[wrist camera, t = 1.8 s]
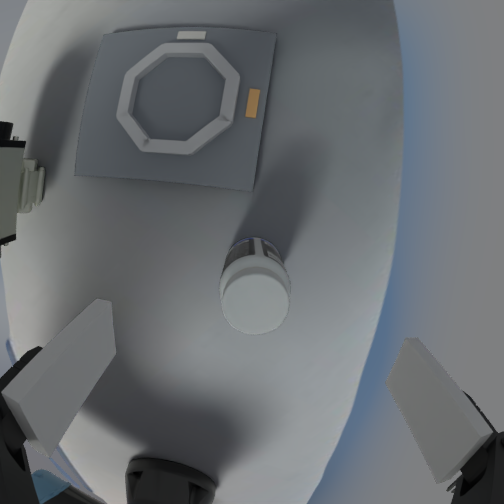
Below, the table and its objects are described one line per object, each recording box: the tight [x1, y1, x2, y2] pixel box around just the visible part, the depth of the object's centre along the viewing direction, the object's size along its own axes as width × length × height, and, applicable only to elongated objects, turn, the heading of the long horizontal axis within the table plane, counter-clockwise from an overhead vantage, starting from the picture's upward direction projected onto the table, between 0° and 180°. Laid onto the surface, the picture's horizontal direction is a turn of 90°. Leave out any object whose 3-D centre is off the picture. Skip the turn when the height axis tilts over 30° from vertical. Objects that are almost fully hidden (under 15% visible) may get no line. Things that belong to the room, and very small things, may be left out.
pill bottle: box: [219, 237, 291, 335], centre depth 20 cm, size 5×5×8 cm
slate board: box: [74, 27, 277, 192], centre depth 20 cm, size 14×16×2 cm
